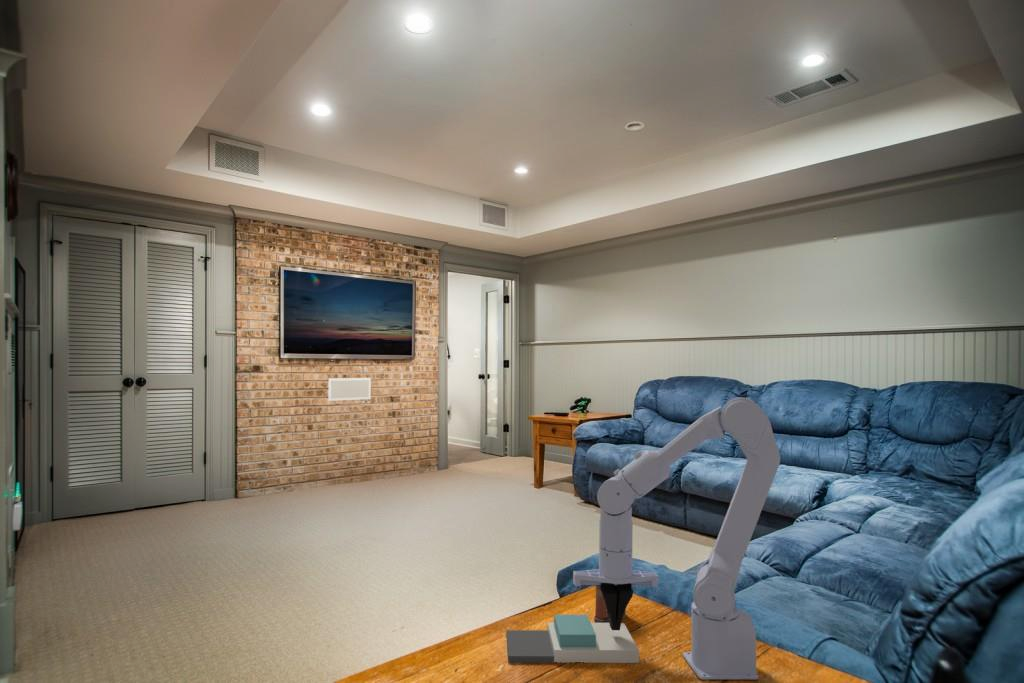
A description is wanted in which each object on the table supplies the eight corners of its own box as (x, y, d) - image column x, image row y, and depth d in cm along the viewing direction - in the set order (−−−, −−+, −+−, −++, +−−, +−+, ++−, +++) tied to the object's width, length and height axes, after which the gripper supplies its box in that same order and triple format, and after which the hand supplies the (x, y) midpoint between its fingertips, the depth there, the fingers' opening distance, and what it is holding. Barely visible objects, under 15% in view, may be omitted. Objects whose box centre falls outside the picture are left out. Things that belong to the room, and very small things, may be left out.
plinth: (623, 634, 103) (623, 622, 103) (638, 662, 92) (639, 650, 92) (547, 633, 102) (547, 622, 102) (554, 662, 92) (554, 649, 92)
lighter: (615, 610, 114) (616, 559, 114) (629, 615, 111) (630, 563, 112) (590, 620, 108) (590, 567, 109) (604, 626, 106) (604, 572, 107)
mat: (547, 636, 101) (547, 630, 101) (554, 662, 92) (554, 656, 92) (506, 635, 101) (506, 630, 101) (508, 662, 91) (508, 656, 92)
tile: (587, 626, 101) (587, 614, 101) (595, 647, 93) (595, 634, 93) (553, 626, 101) (554, 614, 101) (559, 647, 93) (559, 634, 93)
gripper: (650, 541, 103) (649, 618, 102) (571, 540, 102) (569, 617, 101) (662, 553, 96) (661, 636, 95) (577, 552, 95) (575, 635, 94)
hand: (614, 627), depth 97 cm, fingers closed
